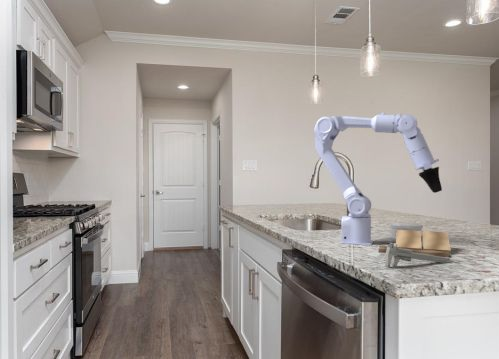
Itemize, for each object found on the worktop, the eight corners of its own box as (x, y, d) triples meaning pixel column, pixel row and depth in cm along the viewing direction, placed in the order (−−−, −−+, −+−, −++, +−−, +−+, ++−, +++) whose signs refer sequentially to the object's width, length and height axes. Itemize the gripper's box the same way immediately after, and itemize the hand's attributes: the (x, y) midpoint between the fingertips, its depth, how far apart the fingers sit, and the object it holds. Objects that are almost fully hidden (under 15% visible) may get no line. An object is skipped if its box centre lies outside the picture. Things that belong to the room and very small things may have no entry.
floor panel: (378, 252, 110) (378, 248, 110) (379, 250, 114) (379, 246, 114) (448, 258, 104) (448, 253, 104) (447, 255, 107) (447, 250, 107)
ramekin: (381, 237, 139) (381, 223, 139) (403, 235, 144) (403, 221, 144) (406, 242, 129) (407, 227, 129) (429, 240, 134) (429, 225, 134)
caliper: (388, 269, 92) (388, 243, 92) (385, 268, 93) (385, 242, 93) (453, 263, 98) (454, 239, 98) (450, 262, 99) (450, 238, 99)
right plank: (423, 252, 110) (423, 248, 110) (422, 234, 120) (422, 230, 120) (450, 254, 108) (450, 250, 107) (447, 235, 117) (447, 232, 117)
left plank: (395, 250, 113) (395, 246, 113) (396, 233, 123) (396, 229, 122) (421, 252, 111) (421, 248, 110) (420, 234, 120) (420, 230, 120)
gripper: (433, 143, 111) (453, 186, 109) (430, 147, 124) (448, 186, 122) (409, 153, 113) (428, 195, 111) (409, 156, 127) (426, 194, 125)
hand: (437, 191), depth 117 cm, fingers open, 7 cm apart
